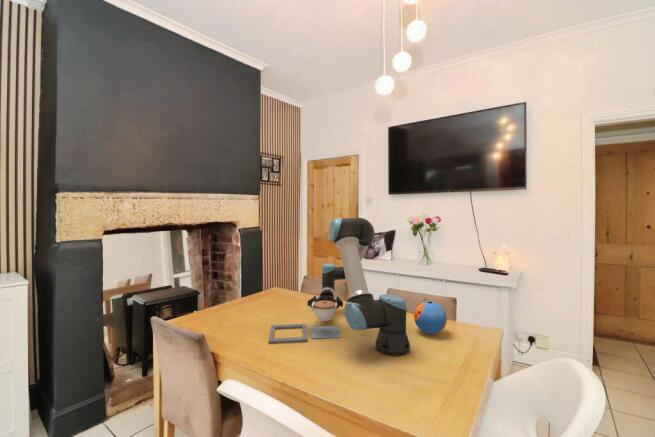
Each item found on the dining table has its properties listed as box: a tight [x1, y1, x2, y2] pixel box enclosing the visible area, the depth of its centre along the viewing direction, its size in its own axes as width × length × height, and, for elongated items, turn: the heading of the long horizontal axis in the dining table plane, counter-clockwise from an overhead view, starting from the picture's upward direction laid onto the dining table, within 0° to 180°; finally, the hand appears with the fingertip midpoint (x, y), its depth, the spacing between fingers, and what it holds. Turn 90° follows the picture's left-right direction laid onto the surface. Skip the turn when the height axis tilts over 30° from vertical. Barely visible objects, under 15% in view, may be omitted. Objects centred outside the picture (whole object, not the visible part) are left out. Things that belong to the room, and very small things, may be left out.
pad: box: [309, 325, 342, 340], centre depth 158 cm, size 14×14×1 cm
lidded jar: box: [313, 300, 336, 322], centre depth 158 cm, size 11×11×9 cm
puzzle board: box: [267, 323, 309, 345], centre depth 157 cm, size 20×18×1 cm
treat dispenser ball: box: [413, 301, 448, 335], centre depth 158 cm, size 16×15×15 cm
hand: (323, 308), depth 154 cm, fingers closed on lidded jar, 11 cm apart
